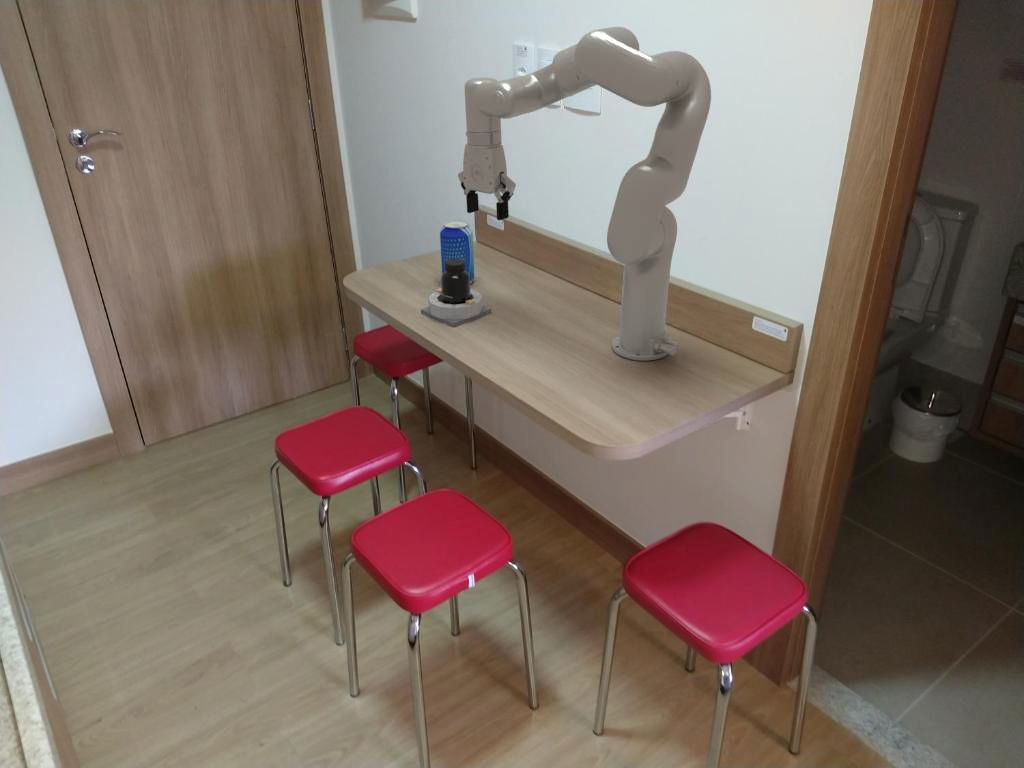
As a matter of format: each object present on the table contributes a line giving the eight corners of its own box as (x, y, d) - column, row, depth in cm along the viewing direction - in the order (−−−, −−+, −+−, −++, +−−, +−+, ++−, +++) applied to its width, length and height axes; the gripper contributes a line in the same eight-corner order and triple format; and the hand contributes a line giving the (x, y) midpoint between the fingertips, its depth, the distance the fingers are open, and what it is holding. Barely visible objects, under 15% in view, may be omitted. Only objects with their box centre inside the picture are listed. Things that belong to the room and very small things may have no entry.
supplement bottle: (441, 315, 188) (438, 266, 182) (443, 304, 194) (441, 257, 188) (470, 314, 188) (468, 266, 182) (471, 303, 194) (470, 256, 188)
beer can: (437, 286, 207) (434, 226, 200) (449, 275, 214) (446, 217, 207) (468, 289, 205) (465, 229, 197) (478, 278, 212) (476, 219, 204)
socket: (492, 312, 191) (492, 294, 189) (453, 328, 184) (452, 309, 181) (458, 299, 199) (457, 281, 197) (419, 313, 192) (418, 295, 189)
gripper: (445, 136, 177) (450, 212, 185) (500, 145, 166) (503, 225, 174) (469, 131, 182) (473, 205, 190) (524, 140, 171) (526, 218, 179)
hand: (487, 215), depth 182 cm, fingers open, 9 cm apart
